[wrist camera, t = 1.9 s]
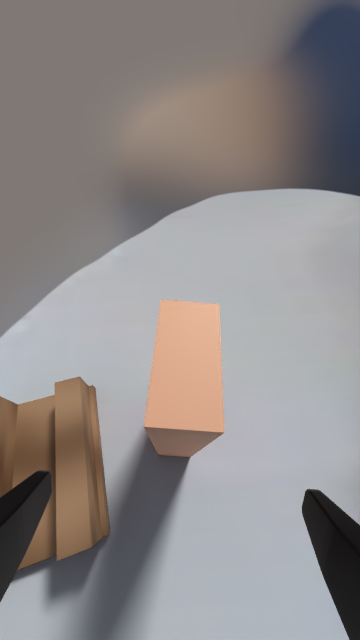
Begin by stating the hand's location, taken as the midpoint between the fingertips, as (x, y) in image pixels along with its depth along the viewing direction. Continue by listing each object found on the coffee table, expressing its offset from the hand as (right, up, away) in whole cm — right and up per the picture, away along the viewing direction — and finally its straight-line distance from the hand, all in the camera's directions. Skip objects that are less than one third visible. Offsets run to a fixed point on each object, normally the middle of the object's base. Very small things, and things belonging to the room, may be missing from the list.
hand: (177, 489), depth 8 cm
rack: (-10, -5, +9) cm, 14 cm away
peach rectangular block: (0, -3, +11) cm, 12 cm away
